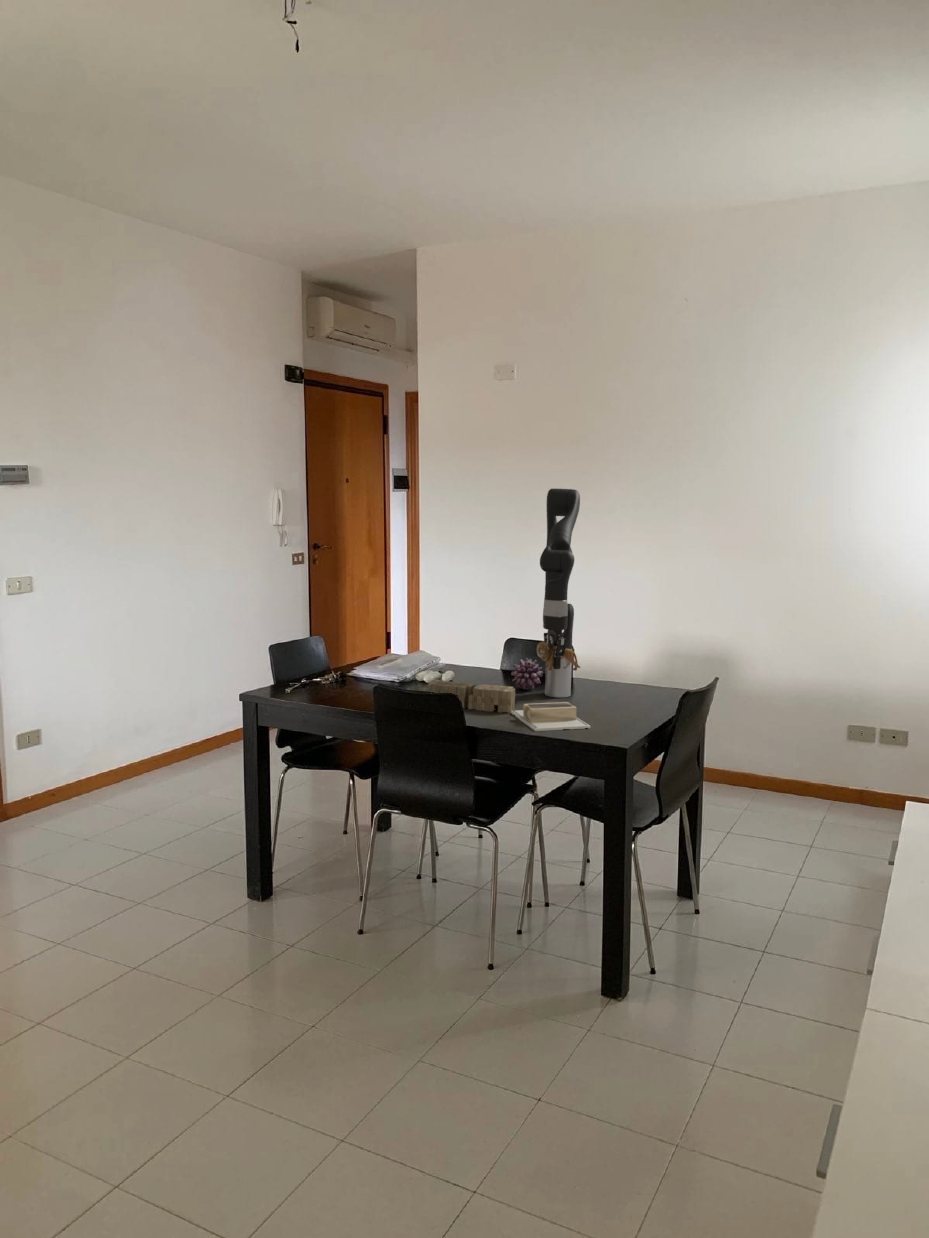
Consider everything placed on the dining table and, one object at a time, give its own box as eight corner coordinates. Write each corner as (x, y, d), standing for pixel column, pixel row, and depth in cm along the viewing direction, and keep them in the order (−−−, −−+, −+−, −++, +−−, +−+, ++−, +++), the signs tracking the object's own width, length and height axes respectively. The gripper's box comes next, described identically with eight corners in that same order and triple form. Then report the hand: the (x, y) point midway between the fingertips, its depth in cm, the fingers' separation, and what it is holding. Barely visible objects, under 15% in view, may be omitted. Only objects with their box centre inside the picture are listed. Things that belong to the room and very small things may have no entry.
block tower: (516, 711, 306) (434, 701, 315) (517, 687, 305) (436, 677, 314) (509, 716, 299) (426, 706, 308) (511, 691, 298) (427, 681, 307)
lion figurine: (538, 671, 283) (539, 643, 282) (533, 669, 289) (534, 640, 287) (583, 670, 287) (584, 642, 286) (577, 667, 292) (578, 640, 291)
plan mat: (511, 713, 299) (511, 710, 299) (562, 710, 304) (562, 707, 303) (535, 731, 276) (535, 728, 276) (590, 728, 281) (590, 725, 281)
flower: (542, 687, 341) (543, 655, 340) (542, 693, 329) (543, 661, 328) (511, 685, 342) (512, 654, 341) (510, 692, 331) (511, 660, 329)
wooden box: (523, 716, 292) (523, 703, 291) (567, 714, 295) (567, 701, 295) (531, 722, 284) (531, 709, 283) (576, 719, 288) (576, 707, 287)
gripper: (536, 611, 291) (534, 663, 293) (552, 617, 277) (550, 672, 280) (558, 610, 293) (556, 663, 295) (575, 616, 279) (573, 671, 282)
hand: (553, 667), depth 288 cm, fingers closed on lion figurine, 4 cm apart
